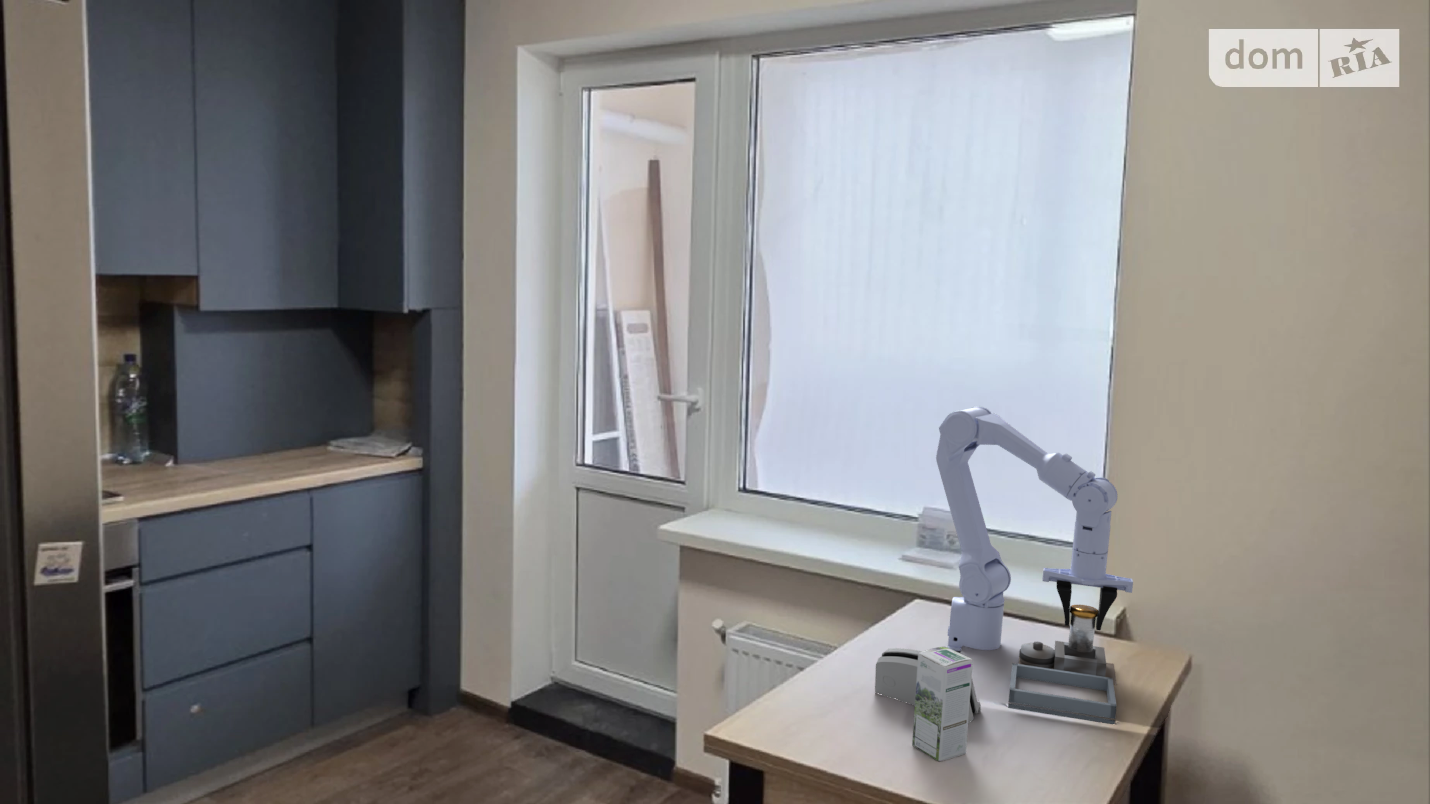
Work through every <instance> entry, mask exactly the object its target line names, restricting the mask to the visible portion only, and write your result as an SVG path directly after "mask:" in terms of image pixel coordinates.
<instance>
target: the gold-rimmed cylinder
mask: <svg viewBox="0 0 1430 804" xmlns="http://www.w3.org/2000/svg"><path fill="white" fill-rule="evenodd" d="M1070 615H1071V616H1070V622H1069V633H1068V647H1069V648H1070V649H1072V650H1074V651H1078V652H1091V651H1092V650H1093V646H1094V637H1095V630H1096V620H1097V616H1098V608H1096V607H1094V606H1090V605H1087V604H1072V605H1070Z"/></svg>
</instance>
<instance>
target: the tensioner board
mask: <svg viewBox="0 0 1430 804" xmlns="http://www.w3.org/2000/svg"><path fill="white" fill-rule="evenodd" d="M1068 643H1069V641H1061V640H1055V641H1054V648H1052V647H1051V646H1049V645H1046V644H1044V643H1043V642H1041V641H1034V642H1027V643H1023V644H1021V646H1020V649H1019V651H1018V653H1019V654H1018V663H1017V664H1022V665H1028V666H1035V667H1042V668H1049V669H1055V670H1062V671H1069V672H1075V673H1082V674H1089V675H1096V676H1102V677H1109V678H1113V685H1114V686H1117V685H1118V684H1117V676H1116V671H1115V663H1111V662H1107V659H1106V651H1105V647H1103V646H1095V645H1093V650H1092V651H1091V652H1078V651H1074V650H1072V649H1070V648H1069V647H1068Z"/></svg>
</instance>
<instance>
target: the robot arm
mask: <svg viewBox="0 0 1430 804" xmlns="http://www.w3.org/2000/svg"><path fill="white" fill-rule="evenodd" d="M938 430H939V434H940V436H939V439H938V440H939V441H938V446H937V451H936V455H935V456H936V457H935V459H936V465H937V468H938V471H939V475H940V479H941V482H942V485H943V489H944V493H945V497H946V499H947V503H948V507H949V511H950V514H951V517H952V521H953V524H954V529H955V532H956V535H957V539H958V542H959V546H960V549H961V555H960V559H959V563H958V570H959V575H960V576H959V577H960V578H959V583H958V586H959V592H960V593H961V595H962V596H953V597H952V600H951V607H950V616H949V617H950V618H949V626H948V628H947V637H948V641H947V642H948V643H947V648H949V649H952V650H954V651H956V652H962V647H967V648H971V649H975V650H981V651H991V650H992V651H994V650H996V649H999V648H1001V642H1002V631H1003V620H1004V608H1005V598H1004V592H1006V591H1007V590H1008V589H1009V588H1010V585H1011V582H1012V576H1011V572H1010V570H1009V568H1008V567H1007V565H1006V564H1005V563H1004V562H1003V560H1002V558H1001V554H1000V552H999V551H998V550H997V549H996V548H995V547H994V546H993V544H992V542H991V540H990V537H989V532H988V529H987V525H986V521H985V518H984V514H983V511H982V508H981V504H980V501H979V497H978V494H977V490H976V487H975V484H974V480H973V479H974V478H973V477H972V472H971V470H970V465H969V460H970V459H971V458H972V455H973V454H974V452H976V450H977V448H978V447H979V446H981V445H984V446H987V445H988V446H989V445H990V446H999V447H1000V448H1002V450H1003V449H1004V450H1005V451H1006V452H1009V453H1010V454H1012V455H1013V456H1015V457H1016V458H1018V459H1019V460H1021V461H1023V462H1025V463H1026V464H1028V465H1030V466H1031V467H1032V468H1034V469H1036V473H1037V476H1038V479H1039V481H1041V482H1042V483H1044V484H1045V485H1047V486H1048V487H1049V488H1051V489H1052V490H1054V491H1055V492H1057V493H1058V494H1060V495H1061V496H1063V497H1064V498H1065V499H1067V500H1068V501H1071V502H1072V507H1073V509H1074V510H1075V511H1076V516H1075V522H1074V530H1073V531H1074V532H1073V539H1072V541H1073V542H1072V550H1071V558H1070V559H1071V560H1070V568H1051V567H1050V568H1048V567H1043V570H1042V582H1045V583H1049V582H1055V583H1056V591H1057V593H1058V596H1059V599H1060V602H1061V606H1062V609H1063V616H1064V626H1067V627H1070V623H1071V616H1070V615H1071V613H1070V606H1071V601H1072V600H1071V599H1072V593H1073V592H1072V588H1073V587H1072V585H1077V586H1084V587H1085V586H1086V587H1094V588H1099V589H1100V590H1099V601H1098V602H1099V603H1098V608H1097V610H1098V616H1097V617H1096V621H1095V630H1096V631H1101V630H1102V626H1103V622H1104V620H1105V618H1106V615H1107V613H1108V611H1109V610H1110V608H1111V606H1112V605H1113V603H1114V602H1115V601H1116V598H1117V597H1118V591H1124V592H1125V593H1130V594H1131V593H1132V594H1133V585H1134V580H1133V578H1129V577H1124V576H1118V575H1115V574H1114V575H1112V574H1109V573H1107V565H1108V555H1109V546H1110V535H1111V520H1112V509H1113V507H1114V506H1115V505H1116V503H1117V501H1118V491H1117V489H1116V487H1115V485H1114V484H1113V483H1112V482H1110V480H1109V479H1108V478H1105V477H1101V476H1100V477H1099V476H1098V477H1097V476H1096V473H1094V472H1093V471H1092V470H1091V471H1087V470H1086V469H1084V468H1083V467H1081V466H1080V465H1078V464H1077V463H1075V462H1074V461H1072V459H1073V457H1072V456H1071V455H1070V454H1068V453H1064V454H1062V453H1060V452H1052V453H1048V452H1047V451H1046V450H1044V449H1043V448H1041V447H1040V446H1039V445H1037V444H1036V442H1035V443H1034V442H1033V441H1032V440H1031V439H1029V438H1028V437H1027V436H1025V435H1024V434H1023V433H1021V432H1020V431H1019V430H1018V429H1016V428H1014V427H1013V426H1012V425H1011V424H1009V423H1008V422H1007V421H1006V420H1005V419H1003V417H1001V416H1000V415H998V414H997V413H994V412H993V413H992V411H990V409H989V408H987V407H984V406H981V405H979V406H978V405H976V406H975V405H974V406H973V407H971V408H966V409H962V410H960V409H959V410H955V411H952V412H950V413H948V415H947V416H946V417H945V419H944V420H943V421H942V423H941V424H940V426H939V427H938Z"/></svg>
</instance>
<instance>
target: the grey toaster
mask: <svg viewBox="0 0 1430 804" xmlns="http://www.w3.org/2000/svg"><path fill="white" fill-rule="evenodd" d="M919 652H923V651H921V650H917V649H911V648H901V647H900V648H897V647H895V648H888V649H886V650H885V651H883V652H882V654H881V656H880V657H878V658H877V661H876V664H875V675H874V677H875V682H874V684H875V685H874V693H875V692H876V693H879V694H882V695H885V696H888V697H887V698H889V697H891V698H890V699H892V698H896V699H898V700H900V701H899V702H902V701H903V702H902V703H905V702H907V703H906V704H908V703H910V704H909V705H911V704H913V705H912V706H915V696H916V681H917V665H918V654H919ZM876 693H875V694H876ZM879 694H878V695H879ZM882 695H881V696H882ZM885 696H884V697H885ZM898 700H897V701H898ZM979 712H980V713H982V708H981V702H980V701H978V698H977V694H976V690H975V685H974V680H973V679H972V680H971V692H970V704H969V717H968V723H971V722H972V721H973V720H974V719H975V718H974V714H978V713H979ZM970 721H971V722H970Z"/></svg>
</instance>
